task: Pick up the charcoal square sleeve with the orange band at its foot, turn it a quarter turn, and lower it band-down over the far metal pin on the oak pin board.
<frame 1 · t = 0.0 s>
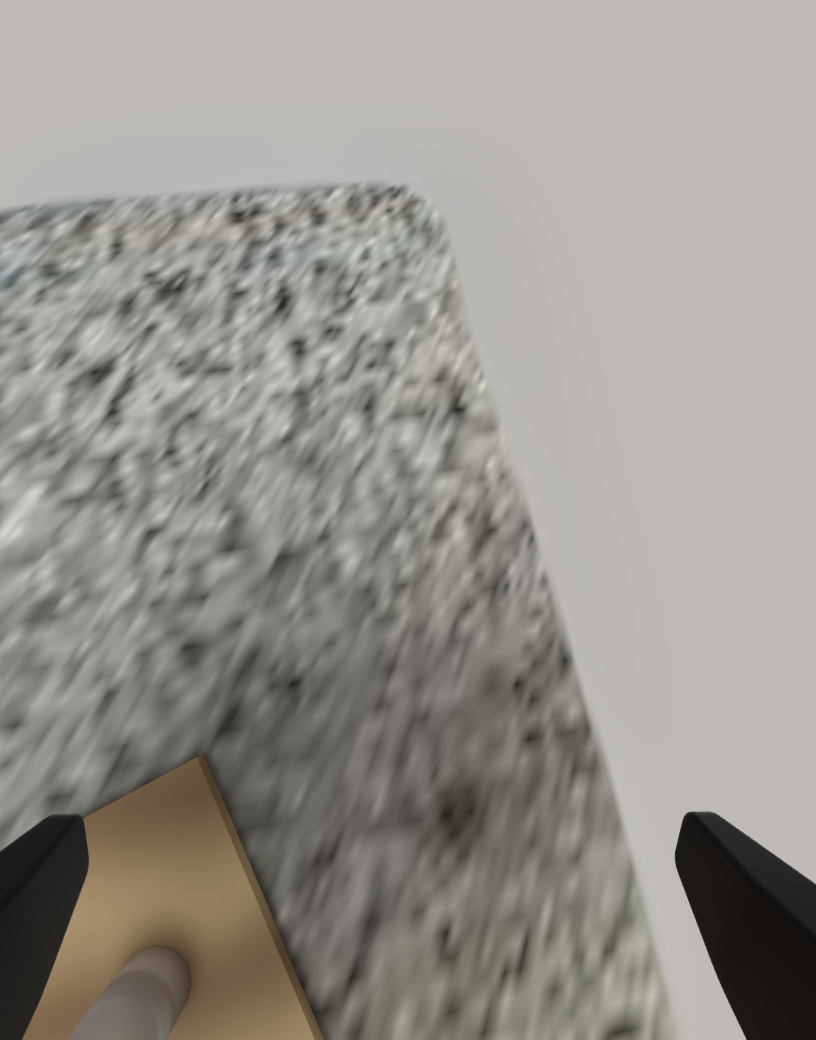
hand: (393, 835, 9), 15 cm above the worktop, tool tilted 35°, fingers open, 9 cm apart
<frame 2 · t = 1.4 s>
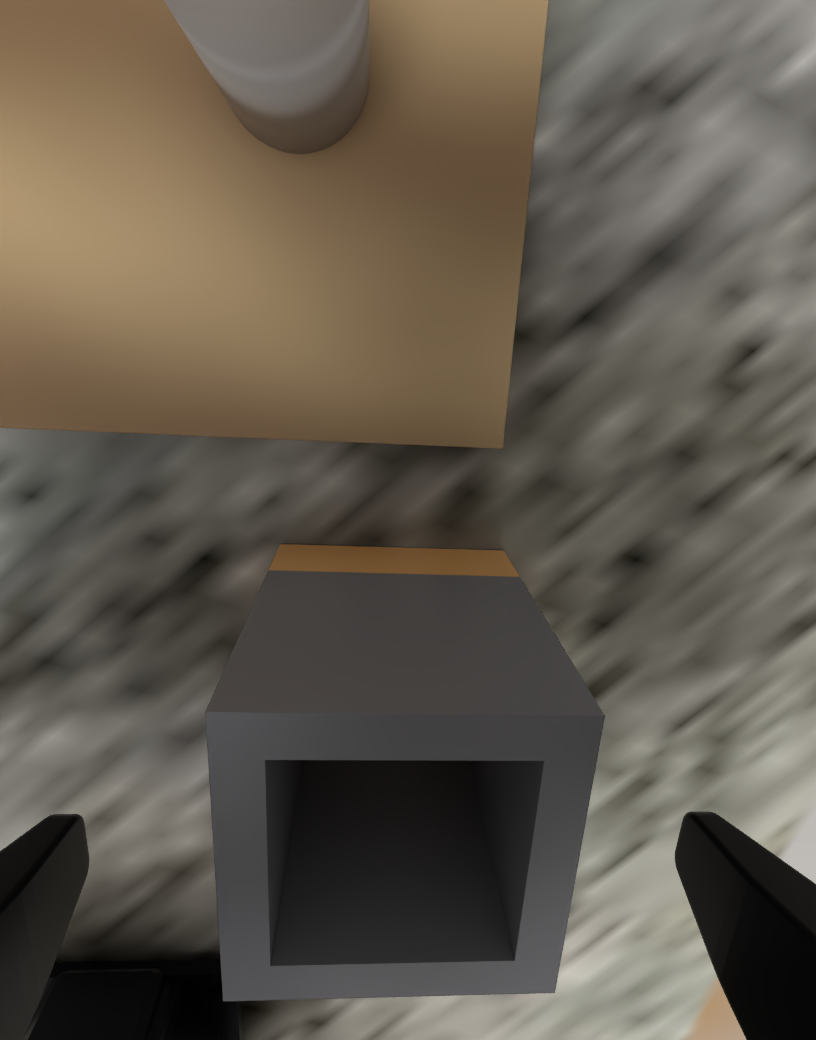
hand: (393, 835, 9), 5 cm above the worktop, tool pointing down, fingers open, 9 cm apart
pin board: (67, 73, 10), on the worktop
sleeve: (388, 646, 14), on the worktop
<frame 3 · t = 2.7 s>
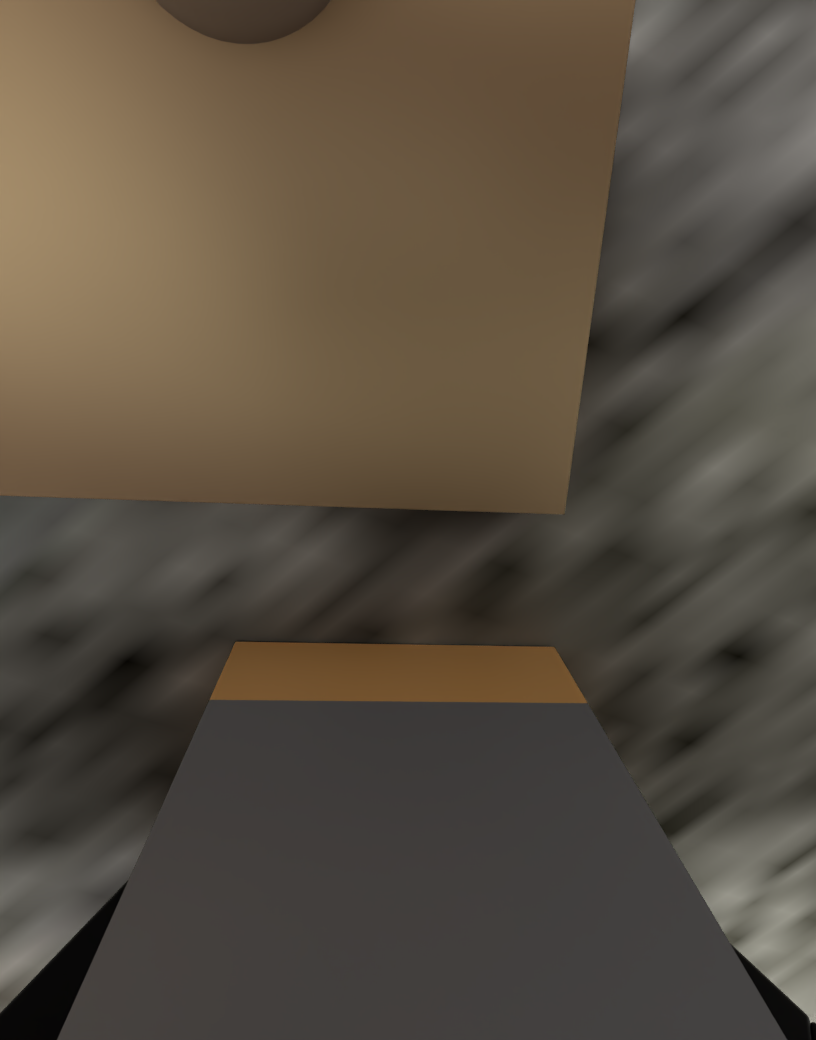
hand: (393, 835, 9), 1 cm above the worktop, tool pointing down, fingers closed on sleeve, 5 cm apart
sleeve: (391, 775, 10), on the worktop, touching gripper
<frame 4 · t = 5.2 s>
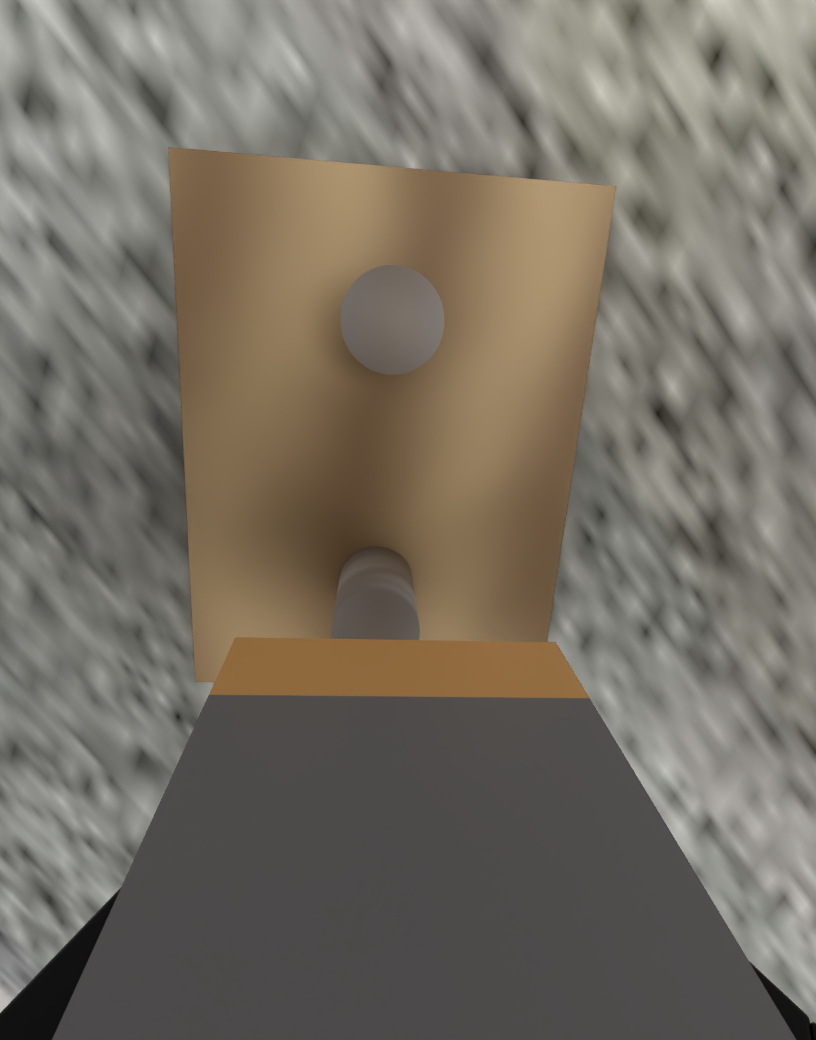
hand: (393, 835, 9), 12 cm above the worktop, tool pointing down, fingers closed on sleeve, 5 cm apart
pin board: (382, 455, 19), on the worktop
sleeve: (391, 772, 10), point 11 cm above the worktop, touching gripper
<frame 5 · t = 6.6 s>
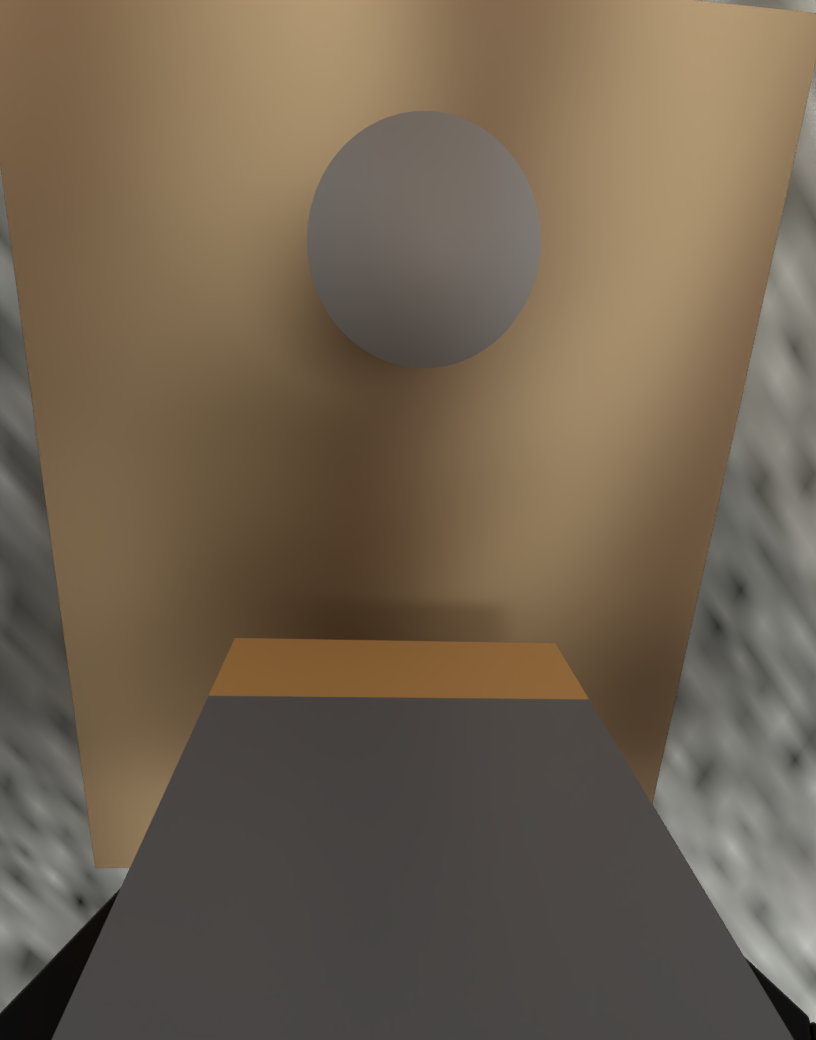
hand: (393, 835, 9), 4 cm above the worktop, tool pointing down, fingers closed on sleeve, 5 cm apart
pin board: (391, 504, 11), on the worktop
sleeve: (391, 773, 10), point 3 cm above the worktop, touching gripper
when the fingers open (3 cm above the worktop, at t = 7.7 s): sleeve stays where it is, resting on pin board.
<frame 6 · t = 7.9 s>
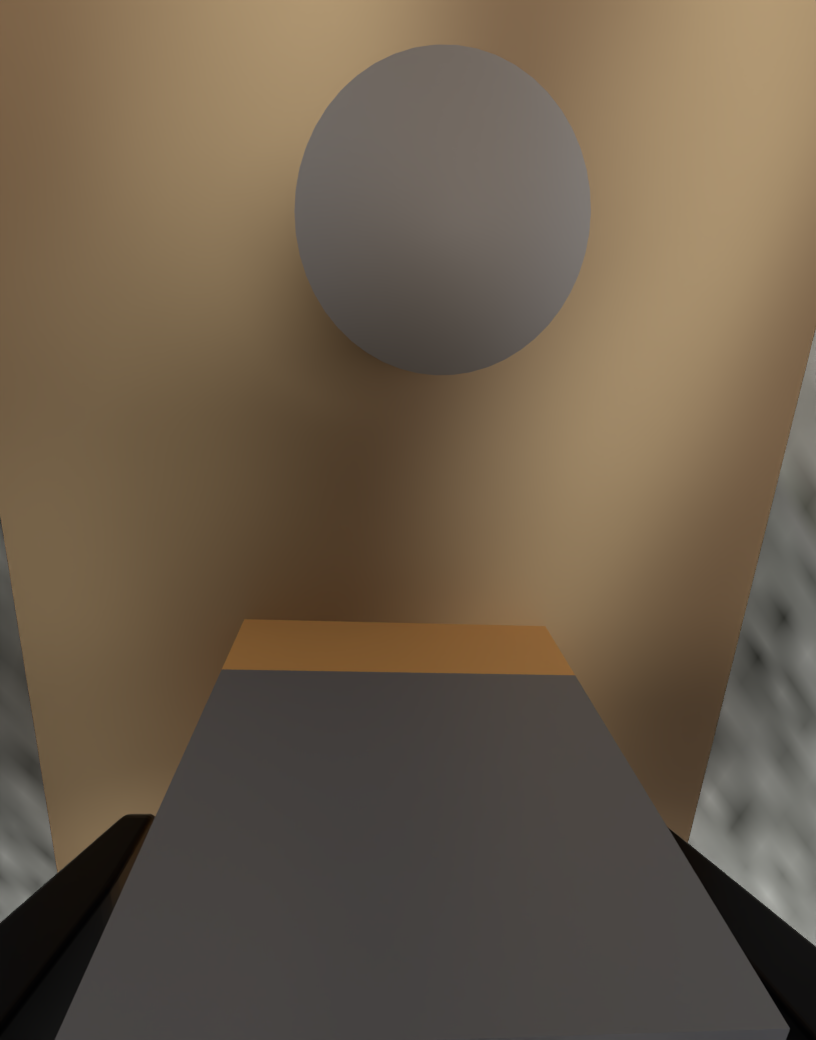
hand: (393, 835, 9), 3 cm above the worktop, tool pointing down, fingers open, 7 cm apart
pin board: (396, 524, 10), on the worktop
sleeve: (390, 749, 10), point 1 cm above the worktop, touching pin board
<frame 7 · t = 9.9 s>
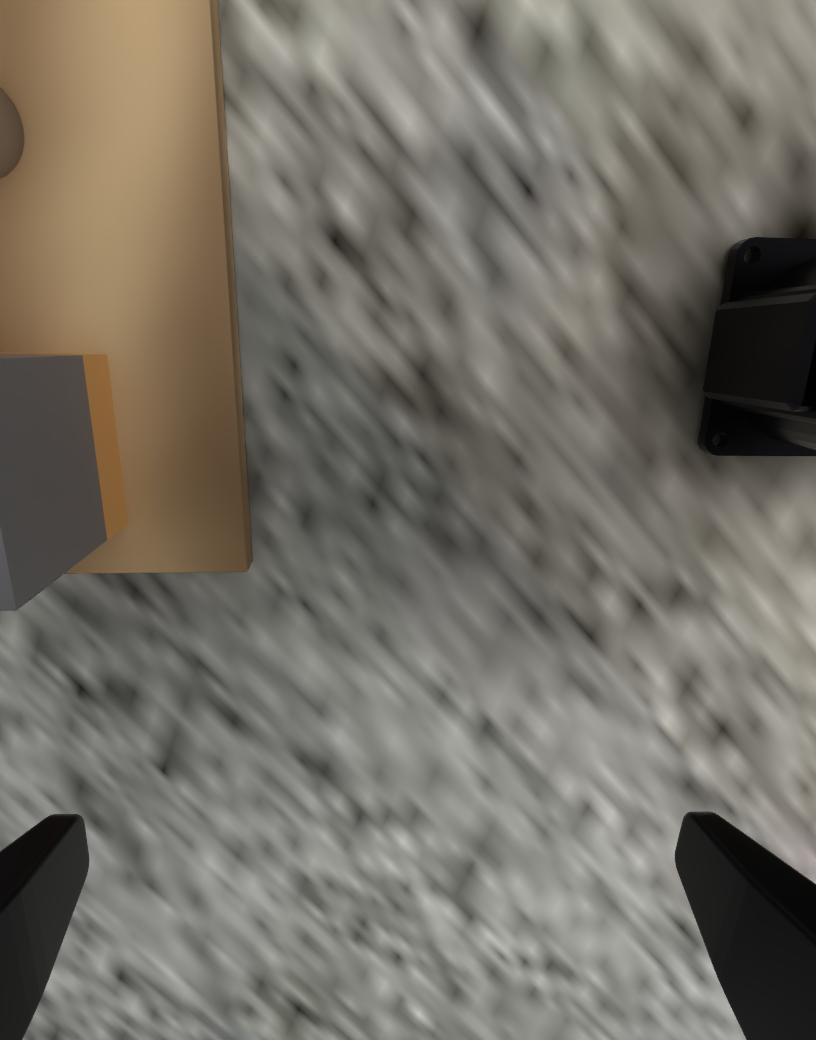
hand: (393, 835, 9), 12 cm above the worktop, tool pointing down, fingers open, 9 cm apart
pin board: (23, 301, 17), on the worktop
sleeve: (28, 441, 17), point 1 cm above the worktop, touching pin board
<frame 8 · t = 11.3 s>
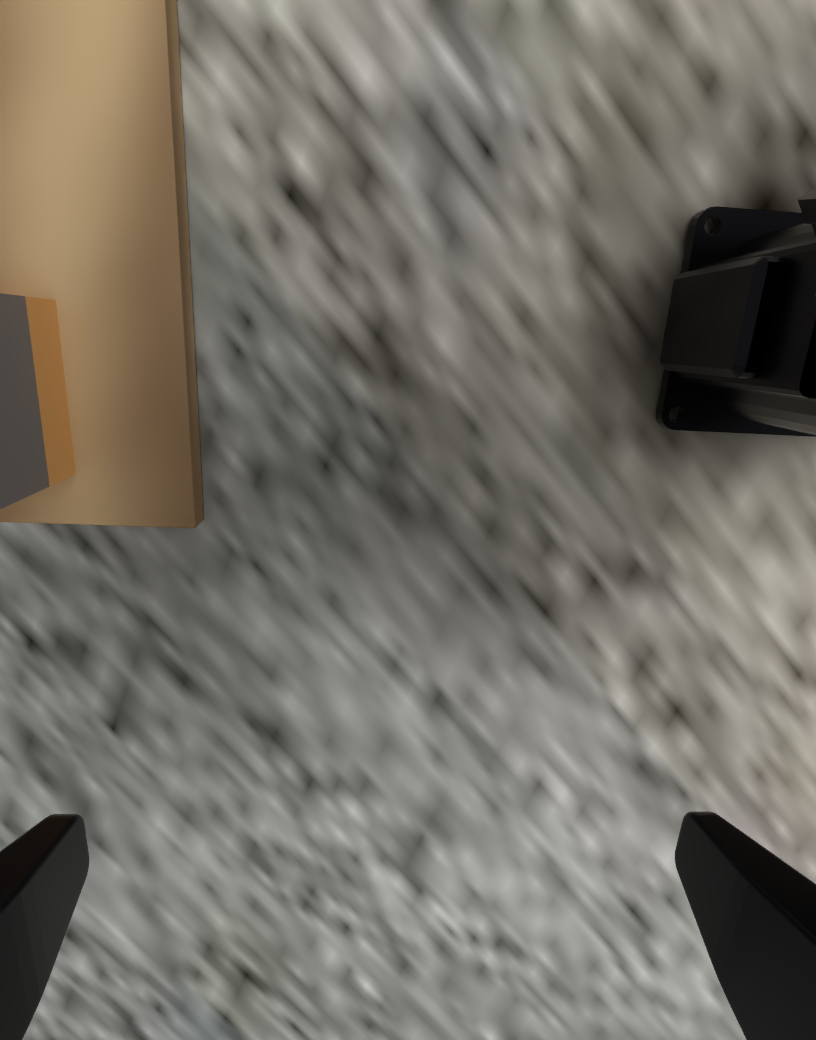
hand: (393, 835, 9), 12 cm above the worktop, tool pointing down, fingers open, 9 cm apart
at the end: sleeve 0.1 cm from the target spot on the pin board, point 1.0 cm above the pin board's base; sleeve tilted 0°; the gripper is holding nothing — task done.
